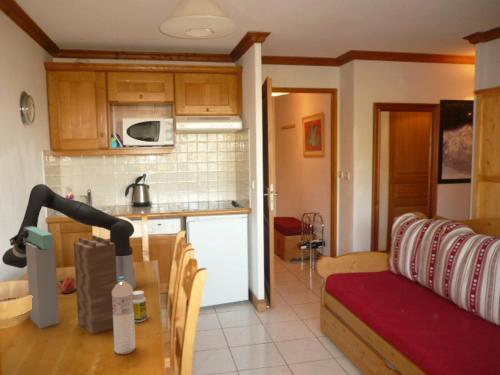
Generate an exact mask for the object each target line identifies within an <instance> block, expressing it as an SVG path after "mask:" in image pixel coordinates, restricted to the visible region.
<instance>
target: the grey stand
mask: <svg viewBox="0 0 500 375" xmlns="http://www.w3.org/2000/svg"><path fill="white" fill-rule="evenodd" d="M26 257H27V266H26V269H27V271H26V272H27V283H28V284H27V288H28V296H29V295H32V296H33V298H32V310H31V314H30V320H31V322H33V324H35V325H36V327H38V328H39V329H43V328H47V327H51V326H55V325H58V324H60V310H59V308H60V307H59V293H58V292H59V291H58V279H57V277H58V276H57V261H56V248H55V244H54V243H53V248H47V249H42V248H40V247H38V246H36V245H32V244H30V243H26Z"/></svg>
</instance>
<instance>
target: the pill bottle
mask: <svg viewBox="0 0 500 375" xmlns="http://www.w3.org/2000/svg"><path fill="white" fill-rule="evenodd" d="M133 310H134V323H141V322H145V321H146V320H147V317H148V315H147V298H146V297H145V292H144V291H143V290H135V291H134V290H133Z"/></svg>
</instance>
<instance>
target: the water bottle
mask: <svg viewBox="0 0 500 375" xmlns="http://www.w3.org/2000/svg"><path fill="white" fill-rule="evenodd" d="M124 280H125V277H124V276H121V277H119V282H118V283H117V284H116V285H115V286H114V287H113V289H112V291H111V295H112V307H113V329H112V331H113V349H114V353H116V355H127V354H130V353H132V352H134V351H135V349H136V330H135V329H136V328H135V326H136V325H135V322H134V310H133V292H134V289H133V288H132V286H131V285H130V284H129V283H127V282H126V281H124Z"/></svg>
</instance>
